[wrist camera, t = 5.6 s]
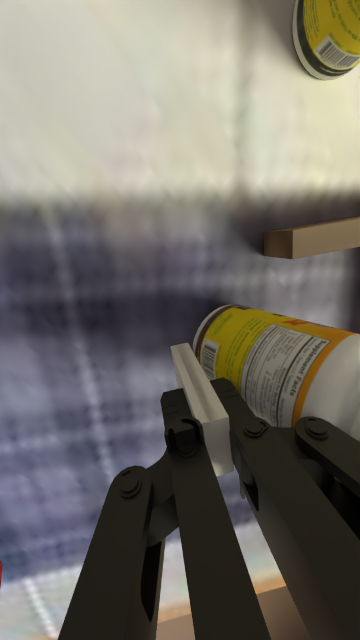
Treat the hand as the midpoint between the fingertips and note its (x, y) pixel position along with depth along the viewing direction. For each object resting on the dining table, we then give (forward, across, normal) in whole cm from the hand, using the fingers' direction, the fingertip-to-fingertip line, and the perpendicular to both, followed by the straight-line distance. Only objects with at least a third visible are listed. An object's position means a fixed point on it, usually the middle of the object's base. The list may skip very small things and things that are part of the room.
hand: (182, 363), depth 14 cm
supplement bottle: (+1, +3, 0) cm, 3 cm away
